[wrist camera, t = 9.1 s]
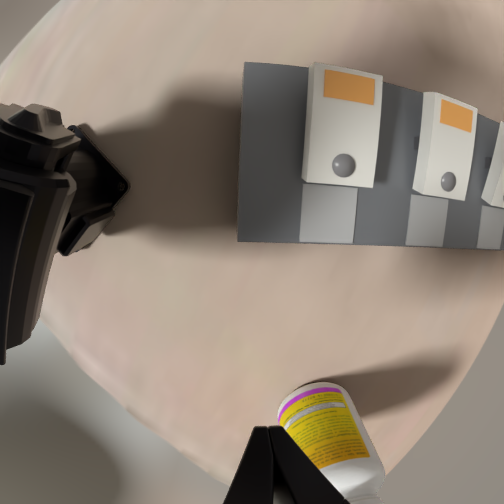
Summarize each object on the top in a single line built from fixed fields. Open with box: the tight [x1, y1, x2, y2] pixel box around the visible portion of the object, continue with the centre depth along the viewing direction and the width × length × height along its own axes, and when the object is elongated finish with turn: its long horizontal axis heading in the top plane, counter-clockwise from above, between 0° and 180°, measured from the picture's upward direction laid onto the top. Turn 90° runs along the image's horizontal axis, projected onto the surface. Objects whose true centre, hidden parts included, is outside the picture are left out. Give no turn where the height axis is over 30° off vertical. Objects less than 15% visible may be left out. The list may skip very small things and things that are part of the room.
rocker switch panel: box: [237, 62, 504, 250], centre depth 17 cm, size 24×10×4 cm, turn 88°
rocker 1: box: [301, 62, 383, 188], centre depth 14 cm, size 6×4×1 cm, turn 177°
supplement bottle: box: [278, 382, 385, 504], centre depth 18 cm, size 7×7×13 cm
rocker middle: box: [412, 92, 477, 201], centre depth 14 cm, size 6×4×1 cm, turn 177°
